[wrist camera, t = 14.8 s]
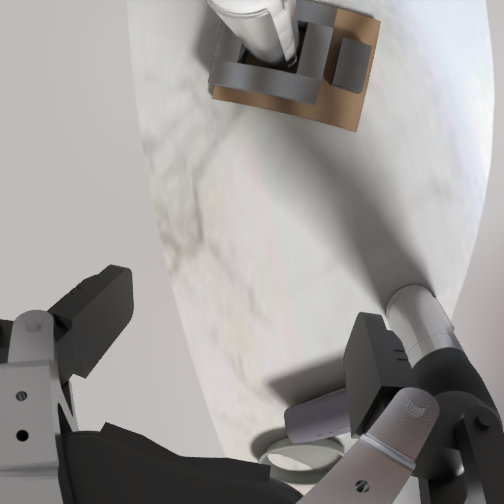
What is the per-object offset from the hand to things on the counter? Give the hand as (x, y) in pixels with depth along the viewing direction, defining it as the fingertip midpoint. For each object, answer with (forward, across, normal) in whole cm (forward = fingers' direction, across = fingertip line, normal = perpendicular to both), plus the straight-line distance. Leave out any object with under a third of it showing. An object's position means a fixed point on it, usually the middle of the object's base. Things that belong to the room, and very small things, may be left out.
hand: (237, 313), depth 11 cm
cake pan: (+40, -19, +71) cm, 84 cm away
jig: (+38, +1, -17) cm, 42 cm away
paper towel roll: (+37, +4, -18) cm, 41 cm away
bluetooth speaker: (+40, -20, +43) cm, 62 cm away
